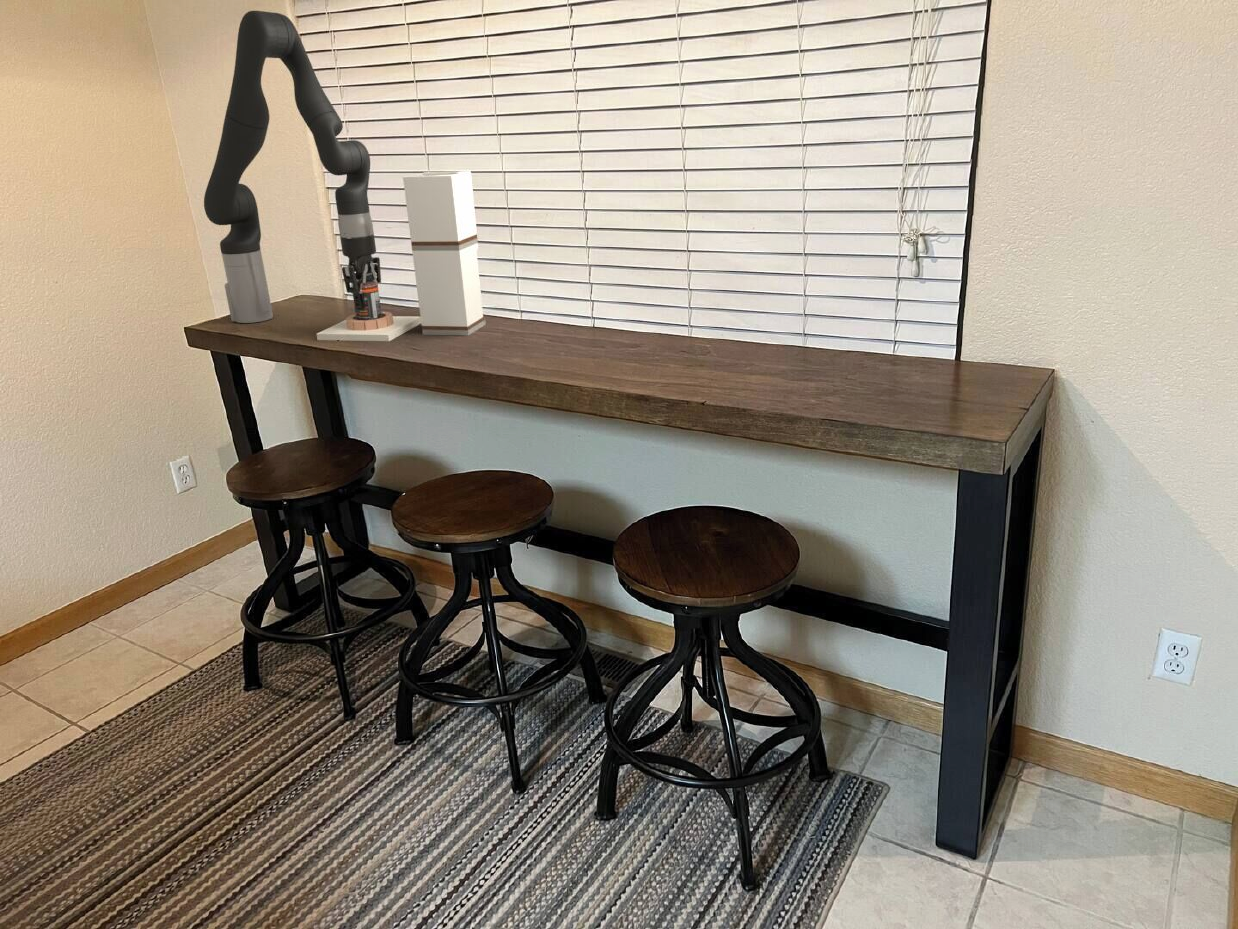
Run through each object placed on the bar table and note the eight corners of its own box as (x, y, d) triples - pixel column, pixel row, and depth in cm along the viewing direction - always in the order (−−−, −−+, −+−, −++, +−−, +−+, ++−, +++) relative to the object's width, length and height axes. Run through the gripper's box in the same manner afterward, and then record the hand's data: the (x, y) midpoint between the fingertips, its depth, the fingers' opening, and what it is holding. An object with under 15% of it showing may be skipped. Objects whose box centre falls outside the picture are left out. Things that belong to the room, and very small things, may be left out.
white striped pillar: (485, 324, 219) (470, 171, 206) (468, 335, 209) (451, 175, 196) (441, 323, 222) (424, 172, 208) (422, 334, 212) (402, 176, 199)
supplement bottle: (351, 324, 215) (344, 275, 210) (365, 318, 220) (358, 270, 216) (374, 324, 213) (367, 276, 209) (387, 318, 218) (380, 271, 214)
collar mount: (317, 340, 211) (314, 325, 210) (355, 321, 227) (353, 307, 226) (388, 341, 207) (386, 326, 206) (422, 322, 223) (420, 308, 222)
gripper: (357, 229, 216) (367, 299, 222) (325, 238, 203) (337, 313, 209) (386, 228, 214) (395, 300, 221) (356, 238, 201) (367, 313, 208)
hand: (367, 306), depth 215 cm, fingers closed on supplement bottle, 6 cm apart
